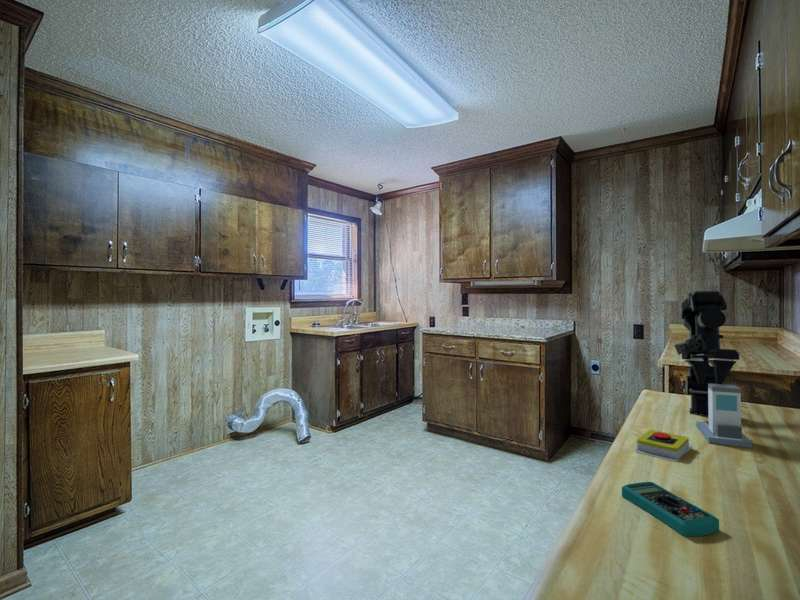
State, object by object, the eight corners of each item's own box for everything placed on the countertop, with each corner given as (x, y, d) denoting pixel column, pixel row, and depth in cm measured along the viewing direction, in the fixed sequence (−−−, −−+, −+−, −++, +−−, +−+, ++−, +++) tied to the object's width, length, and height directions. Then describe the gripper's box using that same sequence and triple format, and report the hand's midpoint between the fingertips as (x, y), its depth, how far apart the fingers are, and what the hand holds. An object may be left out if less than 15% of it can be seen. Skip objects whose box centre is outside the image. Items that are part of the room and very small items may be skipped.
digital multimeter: (687, 541, 66) (686, 523, 66) (619, 497, 81) (619, 482, 81) (723, 535, 67) (723, 518, 67) (651, 493, 82) (651, 479, 82)
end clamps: (708, 425, 116) (708, 415, 116) (730, 427, 113) (730, 417, 113) (717, 436, 107) (717, 425, 107) (742, 439, 105) (741, 427, 105)
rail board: (696, 426, 121) (696, 421, 121) (734, 430, 117) (734, 424, 117) (708, 442, 108) (708, 437, 108) (752, 447, 104) (752, 441, 104)
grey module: (708, 428, 113) (708, 383, 113) (735, 430, 111) (735, 385, 111) (713, 433, 109) (712, 386, 109) (741, 436, 107) (740, 388, 107)
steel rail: (704, 421, 120) (704, 420, 120) (725, 424, 118) (725, 422, 118) (717, 438, 107) (717, 436, 107) (742, 440, 105) (742, 439, 104)
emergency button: (632, 436, 103) (652, 423, 113) (633, 453, 103) (652, 438, 113) (676, 445, 96) (692, 430, 106) (676, 464, 96) (692, 447, 106)
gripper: (663, 332, 133) (664, 381, 131) (695, 327, 115) (697, 383, 112) (701, 334, 131) (703, 383, 129) (739, 329, 113) (742, 387, 111)
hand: (709, 384), depth 120 cm, fingers open, 9 cm apart
